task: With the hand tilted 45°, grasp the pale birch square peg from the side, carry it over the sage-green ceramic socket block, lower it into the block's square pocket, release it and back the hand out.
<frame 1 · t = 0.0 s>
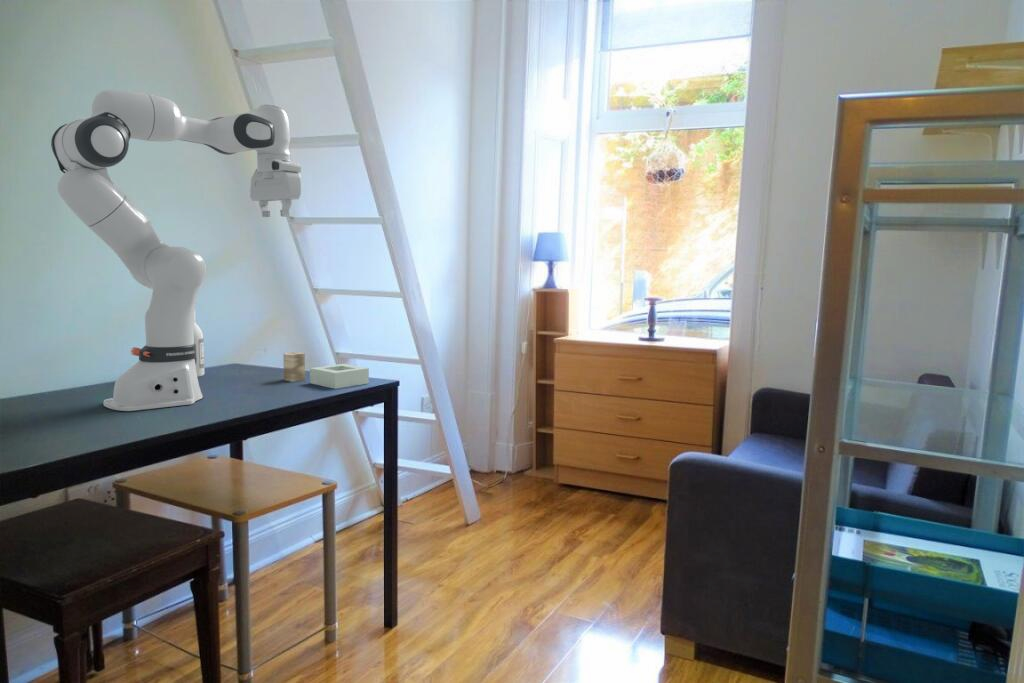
hand: (275, 216, 199), 48 cm above the table, tool pointing down, fingers open, 8 cm apart
socket block: (339, 383, 209), on the table
birch peg: (294, 379, 213), on the table
bath foam: (192, 376, 216), on the table
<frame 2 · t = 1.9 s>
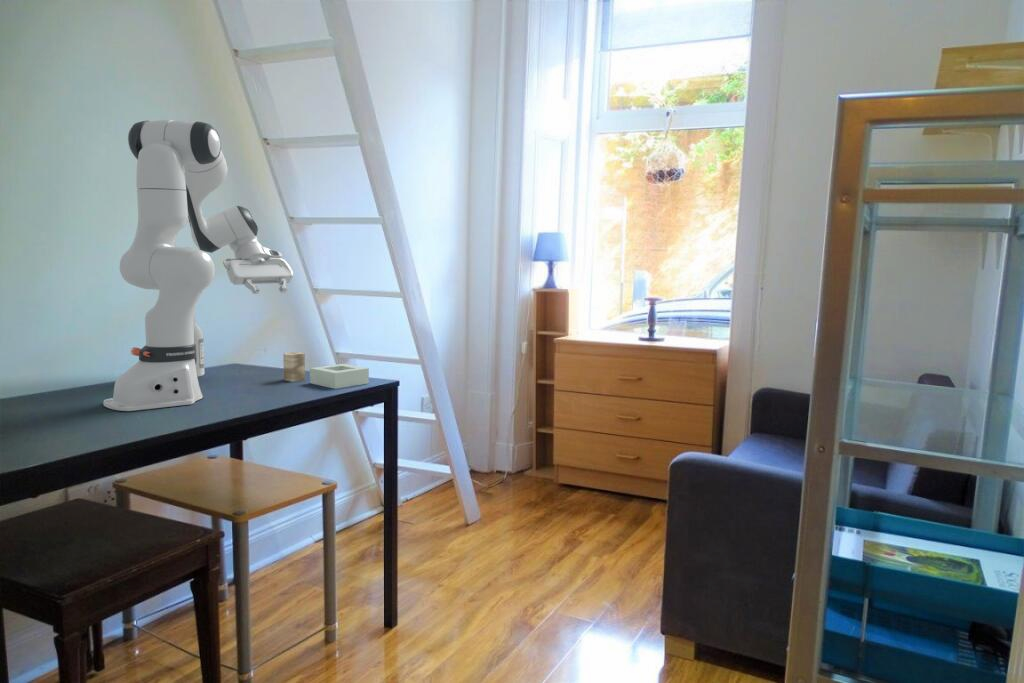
hand: (270, 291, 217), 26 cm above the table, tool tilted 45°, fingers open, 8 cm apart
nothing on the table moved.
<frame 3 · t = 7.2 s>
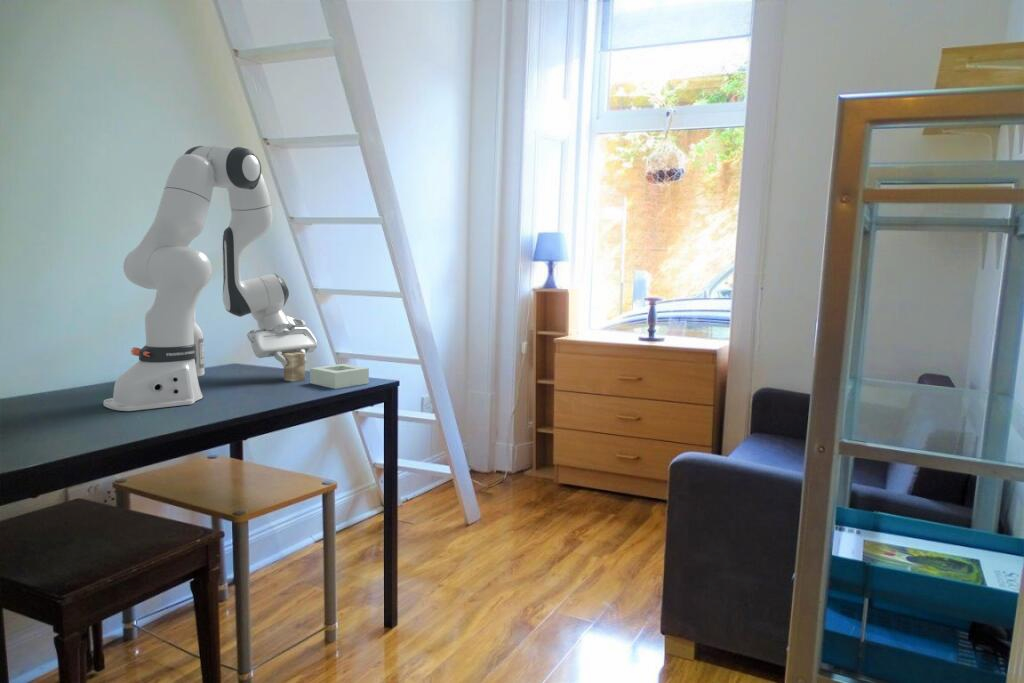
hand: (295, 363, 212), 5 cm above the table, tool tilted 45°, fingers closed on birch peg, 4 cm apart
birch peg: (294, 379, 213), on the table, touching gripper
everything else where it was.
when the fingers open (7 cm above the table, at t = 13.8 s): birch peg drops 2 cm, resting in socket block.
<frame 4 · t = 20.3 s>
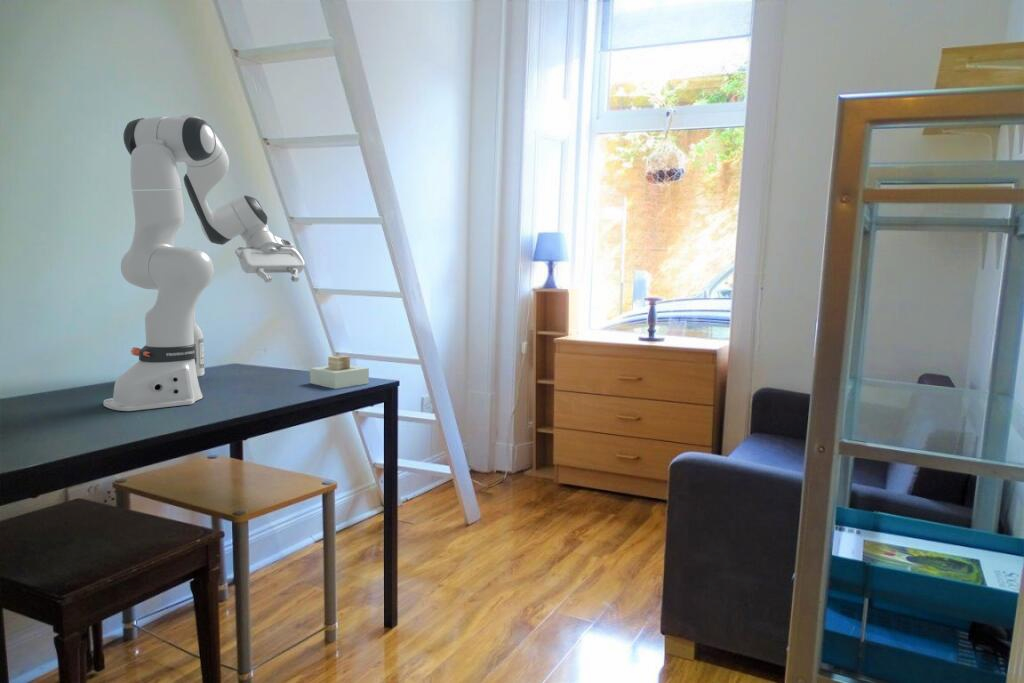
hand: (282, 280, 216), 29 cm above the table, tool tilted 45°, fingers open, 8 cm apart
birch peg: (339, 383, 209), resting in socket block
everything else where it was.
at the end: birch peg 0.1 cm off-centre on the socket block, point 0.0 cm above the socket block's base; birch peg tilted 0°; the gripper is holding nothing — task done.
